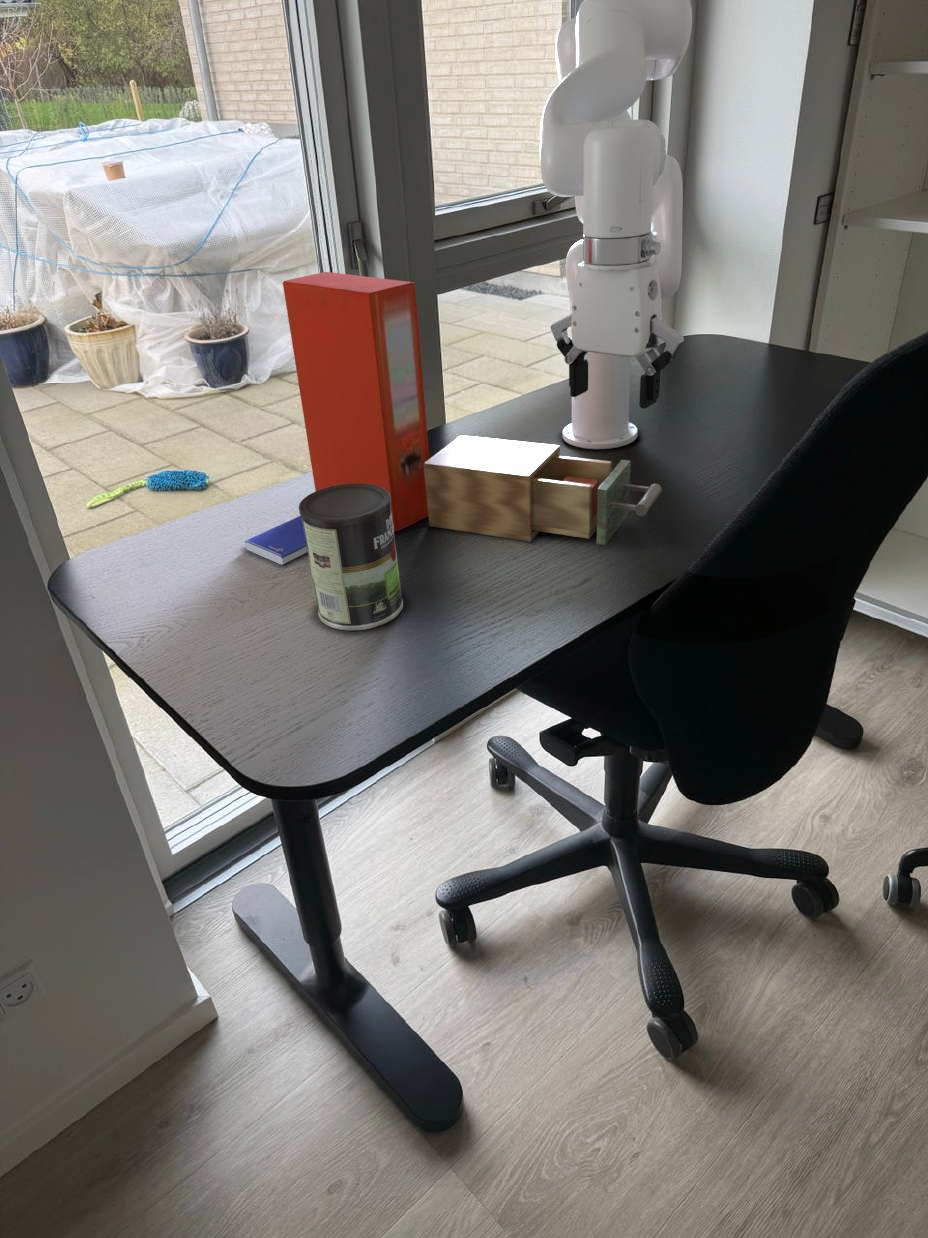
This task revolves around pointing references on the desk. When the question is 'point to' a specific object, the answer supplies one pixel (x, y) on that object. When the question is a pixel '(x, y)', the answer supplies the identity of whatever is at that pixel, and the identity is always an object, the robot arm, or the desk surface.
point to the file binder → (362, 385)
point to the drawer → (585, 497)
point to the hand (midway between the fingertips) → (612, 399)
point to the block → (594, 490)
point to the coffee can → (352, 555)
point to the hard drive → (280, 542)
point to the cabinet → (485, 485)
